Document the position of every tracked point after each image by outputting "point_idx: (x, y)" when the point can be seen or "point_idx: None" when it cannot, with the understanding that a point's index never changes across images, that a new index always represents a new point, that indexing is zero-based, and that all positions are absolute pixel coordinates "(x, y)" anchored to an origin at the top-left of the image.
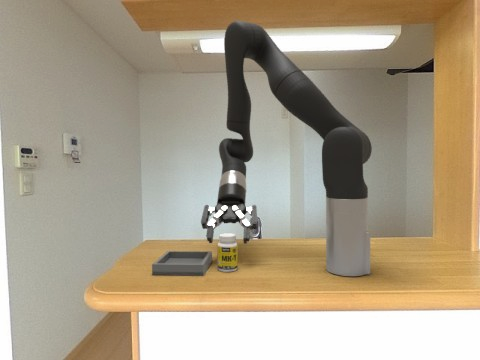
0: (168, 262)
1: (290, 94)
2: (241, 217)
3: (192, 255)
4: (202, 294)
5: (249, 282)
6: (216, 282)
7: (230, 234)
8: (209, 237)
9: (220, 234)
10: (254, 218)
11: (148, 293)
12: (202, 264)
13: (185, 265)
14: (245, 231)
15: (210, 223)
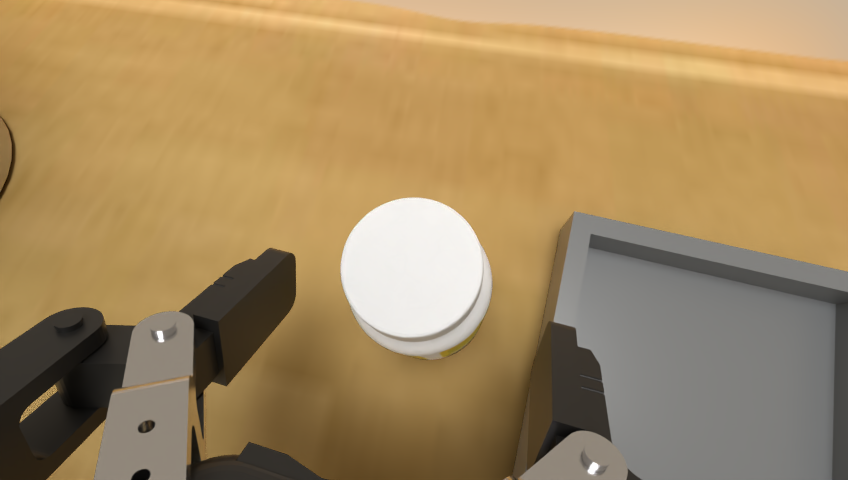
0: (807, 464)
1: None
2: (168, 385)
3: None
4: (560, 35)
5: (367, 116)
6: (502, 138)
7: (382, 274)
8: (567, 327)
9: (470, 293)
10: (24, 357)
11: (777, 71)
12: (579, 218)
13: (676, 236)
14: (239, 282)
15: (588, 451)
